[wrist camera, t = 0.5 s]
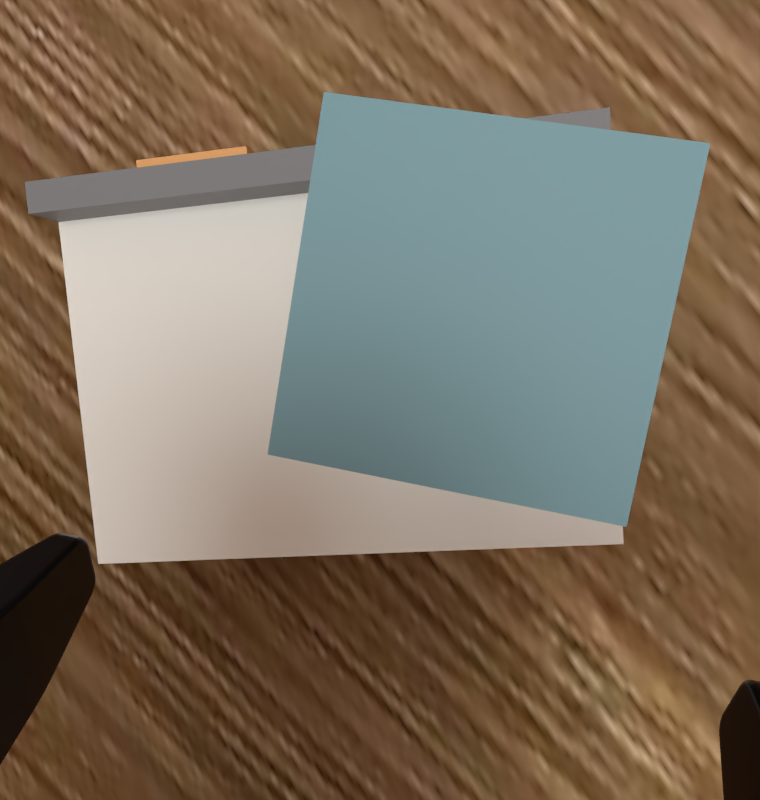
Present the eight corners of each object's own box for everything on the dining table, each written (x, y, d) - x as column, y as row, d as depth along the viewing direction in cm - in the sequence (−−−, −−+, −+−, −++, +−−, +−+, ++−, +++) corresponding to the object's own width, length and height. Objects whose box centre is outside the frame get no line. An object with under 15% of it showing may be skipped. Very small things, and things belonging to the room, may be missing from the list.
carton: (540, 416, 22) (626, 527, 9) (387, 388, 23) (267, 454, 10) (573, 254, 21) (712, 130, 9) (414, 230, 22) (326, 81, 9)
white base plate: (616, 533, 23) (634, 559, 20) (115, 553, 26) (72, 579, 23) (593, 135, 22) (610, 107, 19) (75, 199, 25) (25, 182, 22)
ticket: (268, 172, 23) (247, 156, 21) (168, 185, 24) (137, 170, 22) (268, 164, 23) (246, 146, 21) (167, 176, 24) (136, 160, 22)
